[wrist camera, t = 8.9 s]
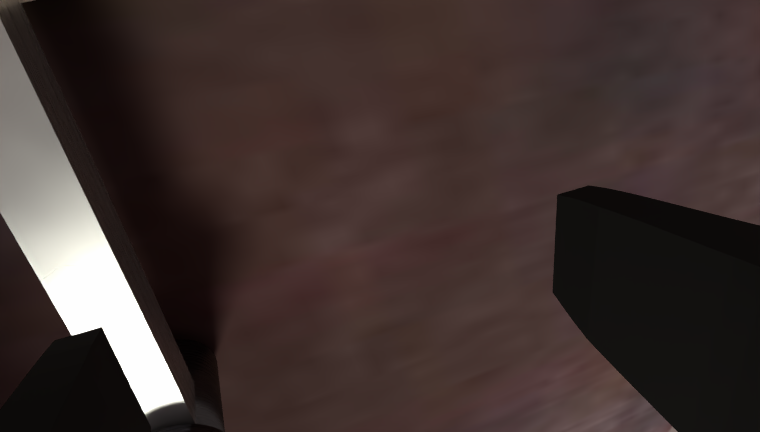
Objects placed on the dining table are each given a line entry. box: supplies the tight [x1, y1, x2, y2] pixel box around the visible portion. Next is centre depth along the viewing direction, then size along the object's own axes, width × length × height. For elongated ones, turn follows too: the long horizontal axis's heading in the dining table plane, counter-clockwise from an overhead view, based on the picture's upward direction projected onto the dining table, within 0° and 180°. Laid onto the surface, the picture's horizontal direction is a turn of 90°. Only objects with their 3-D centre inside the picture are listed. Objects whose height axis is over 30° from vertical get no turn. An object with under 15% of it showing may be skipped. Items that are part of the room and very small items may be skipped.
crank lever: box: [0, 0, 225, 432], centre depth 13 cm, size 18×3×5 cm, turn 9°
